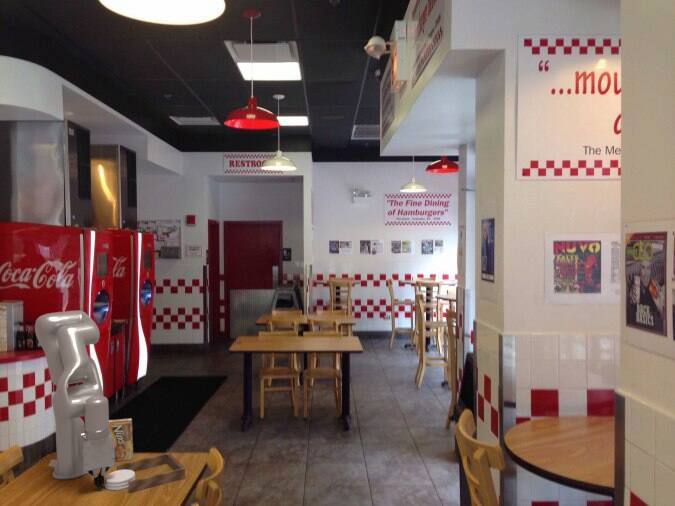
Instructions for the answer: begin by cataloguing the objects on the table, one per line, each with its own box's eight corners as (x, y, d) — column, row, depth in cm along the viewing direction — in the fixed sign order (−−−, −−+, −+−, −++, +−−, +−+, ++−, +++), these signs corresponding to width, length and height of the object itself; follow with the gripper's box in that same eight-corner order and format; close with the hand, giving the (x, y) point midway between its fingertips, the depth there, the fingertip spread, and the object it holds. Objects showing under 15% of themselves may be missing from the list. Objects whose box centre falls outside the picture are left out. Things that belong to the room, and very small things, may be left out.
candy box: (133, 456, 219) (132, 417, 219) (131, 460, 215) (130, 421, 215) (109, 458, 218) (108, 419, 217) (107, 462, 213) (106, 423, 213)
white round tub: (117, 493, 187) (116, 483, 187) (98, 487, 192) (98, 477, 192) (141, 482, 196) (141, 472, 196) (123, 476, 201) (122, 466, 201)
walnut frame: (129, 493, 187) (129, 482, 187) (116, 474, 202) (116, 465, 202) (185, 478, 198) (185, 468, 198) (169, 461, 213) (169, 452, 213)
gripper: (75, 441, 182) (77, 496, 183) (122, 432, 191) (124, 485, 191) (71, 435, 189) (73, 488, 189) (118, 426, 197) (119, 477, 197)
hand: (99, 486), depth 190 cm, fingers closed
